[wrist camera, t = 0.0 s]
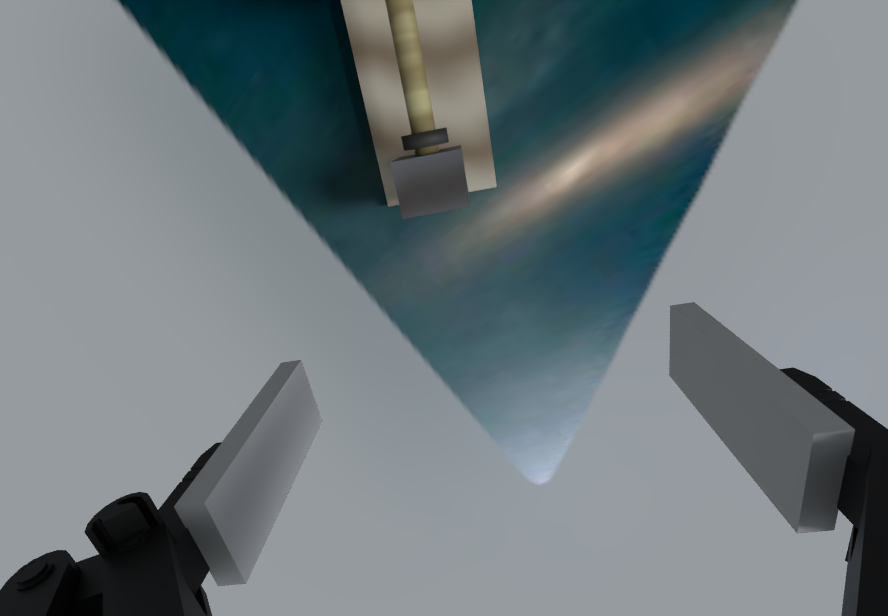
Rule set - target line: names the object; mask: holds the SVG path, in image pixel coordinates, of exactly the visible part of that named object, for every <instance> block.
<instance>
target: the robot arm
mask: <svg viewBox="0 0 888 616" xmlns="http://www.w3.org/2000/svg"><path fill="white" fill-rule="evenodd" d="M669 375H670V377H671V378H672V379H673V380H674V381H675V383H676V384H677V385H678V387H679V388H680V389H681V390H682V391H683V393H684V394H685V395H686V396H687V398H688V399H689V400H690V401H691V402H692V404H693V405H694V406H695V407H696V409H697V410H698V411H699V413H700V414H701V415H702V416H703V418H704V419H705V420H706V421H707V422H708V424H709V425H710V426H711V427H712V428H713V430H714V431H715V432H716V434H717V435H718V436H719V437H720V439H721V440H722V441H723V442H724V444H725V445H726V446H727V447H728V448H729V450H730V451H731V452H732V453H733V455H734V456H735V457H736V458H737V460H738V461H739V462H740V463H741V465H742V466H743V467H744V468H745V469H746V471H747V472H748V473H749V474H750V475H751V477H752V478H753V479H754V481H755V482H756V483H757V484H758V486H759V487H760V488H761V489H762V490H763V492H764V493H765V494H766V496H767V497H768V498H769V499H770V500H771V502H772V503H773V504H774V505H775V506H776V508H777V509H778V510H779V512H780V513H781V514H782V515H783V516H784V518H785V519H786V520H787V522H788V523H789V524H790V525H791V527H792V528H793V529H794V530H795V531H796V532H797V533H807V532H818V531H829V530H834V528H835V523H836V519H837V514H838V509H839V510H840V511H841V512H842V513H843V514H844V515H845V516H846V518H847V519H849V521H850V522H851V523H852V524H853V529H852V533H851V538H850V542H849V547H848V551H847V555H846V559H845V561H847V562H848V565H847V573H846V582H845V590H844V599H843V608H842V616H888V429H886V428H885V427H884V426H882V425H881V424H880V423H878V422H877V421H875V420H874V419H873V418H871V417H870V416H869V415H867V414H866V413H865V412H863V411H862V410H861V409H859V408H858V407H856V406H855V405H854V404H852V403H851V402H849V401H846V400H845V398H844V397H843V396H841V395H840V394H839V393H837V392H836V391H832V388H830V387H829V386H828V385H826V384H825V383H823V382H822V381H821V380H819V379H818V378H816V377H815V376H812V375H810V374H808V373H805V372H803V371H800V370H798V369H796V368H787V369H778V368H777V367H775V366H774V365H773V364H772V363H770V362H769V361H768V360H766V359H765V358H764V357H763V356H761V355H760V354H759V353H758V352H756V351H755V350H754V349H753V348H751V347H750V346H749V345H747V344H746V343H745V342H744V341H742V340H741V339H740V338H739V337H737V336H736V335H735V334H734V333H732V332H731V331H730V330H729V329H727V328H726V327H725V326H723V325H722V324H721V323H720V322H718V321H717V320H716V319H715V318H713V317H712V316H711V315H710V314H708V313H707V312H706V311H704V310H703V309H702V308H701V307H699V306H698V305H697V304H695V303H694V302H693V303H686V304H679V305H672V306H670V374H669ZM321 422H322V419H321V416H320V413H319V410H318V407H317V404H316V401H315V399H314V396H313V393H312V390H311V387H310V384H309V381H308V378H307V376H306V373H305V370H304V367H303V364H302V361H301V360H298V361H291V362H284V363H281V364H280V365H279V367H278V368H277V369H276V371H275V372H274V374H273V375H272V376H271V378H270V379H269V380H268V382H267V383H266V384H265V386H264V387H263V388H262V389H261V391H260V392H259V394H258V395H257V396H256V397H255V399H254V400H253V402H252V403H251V404H250V405H249V407H248V408H247V410H246V411H245V412H244V414H243V415H242V416H241V418H240V419H239V420H238V422H237V423H236V424H235V426H234V427H233V428H232V430H231V431H230V432H229V434H228V435H227V436H226V438H225V439H224V440H223V442H220V443H216V444H214V445H213V446H212V447H211V448H209V449H208V450H207V451H206V452H205V453H203V454H202V455H201V456H200V457H199V459H198V460H197V461H196V462H195V464H194V465H193V466H192V468H191V471H189V472H188V473H187V474H186V475H185V477H184V478H183V479H182V482H180V483H179V484H178V485H177V487H176V488H175V489H174V491H173V492H172V493H171V494H170V496H169V497H168V499H167V500H166V501H165V502H164V504H163V505H162V506H161V507H160V509H159V510H157V508H156V506H155V505H154V503H153V501H152V499H151V498H150V496H149V495H148V494H147V493H142V492H138V493H132V494H129V495H126V496H124V497H121V498H119V499H117V500H115V501H114V502H112V503H110V504H109V505H107V506H105V507H104V508H103V509H102V510H101V511H99V512H98V513H97V514H96V515H95V516H94V517H93V518H92V519H91V521H90V522H89V523H88V524H87V527H86V530H85V533H86V535H87V536H88V538H89V539H90V541H91V542H92V544H93V545H94V546H95V548H96V550H97V551H98V552H99V555H96V556H93V557H91V558H87V559H85V560H82V561H79V562H75V561H74V560H73V558H72V557H71V555H70V554H69V553H68V552H67V551H66V550H57V551H53V552H50V553H47V554H45V555H42V556H40V557H39V558H36V559H34V560H32V561H31V562H29V563H28V564H27V565H24V566H23V567H22V568H20V569H19V570H18V572H16V573H15V574H14V575H13V576H12V577H11V578H10V579H9V580H8V581H7V582H6V583H5V585H4V586H3V587H2V589H1V590H0V616H212V613H211V610H210V606H209V602H208V599H207V595H206V593H205V591H204V589H203V588H202V586H201V584H202V582H203V581H204V579H205V577H206V575H207V573H208V572H209V571H210V573H211V574H212V576H213V578H214V580H215V581H216V583H217V585H218V586H225V585H236V584H246V583H247V580H248V578H249V576H250V574H251V572H252V570H253V568H254V566H255V563H256V561H257V559H258V557H259V555H260V553H261V551H262V548H263V546H264V544H265V542H266V540H267V538H268V536H269V534H270V531H271V529H272V527H273V525H274V523H275V521H276V519H277V516H278V514H279V512H280V510H281V508H282V506H283V503H284V501H285V499H286V497H287V495H288V493H289V491H290V489H291V487H292V484H293V482H294V480H295V478H296V476H297V474H298V471H299V469H300V467H301V465H302V463H303V461H304V459H305V457H306V454H307V452H308V450H309V448H310V446H311V444H312V442H313V440H314V437H315V435H316V433H317V431H318V429H319V427H320V425H321Z"/></svg>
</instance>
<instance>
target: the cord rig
mask: <svg viewBox="0 0 888 616" xmlns="http://www.w3.org/2000/svg"><path fill="white" fill-rule="evenodd" d="M341 4H342V9H343V13H344V17H345V22H346V26H347V30H348V35H349V39H350V43H351V48H352V52H353V56H354V61H355V65H356V69H357V74H358V78H359V82H360V87H361V91H362V95H363V100H364V104H365V108H366V113H367V117H368V121H369V126H370V130H371V134H372V139H373V143H374V147H375V152H376V156H377V160H378V165H379V169H380V173H381V178H382V182H383V186H384V191H385V195H386V199H387V204H388V207H389V206H395V205H400V210H401V214H402V219H405V218H410V217H416V216H421V215H427V214H433V213H438V212H444V211H449V210H455V209H461V208H466V207H470V201H469V192H472V191H477V190H483V189H488V188H493V187H497V186H496V178H495V171H494V164H493V156H492V149H491V141H490V134H489V127H488V119H487V112H486V104H485V97H484V90H483V82H482V75H481V68H480V60H479V53H478V45H477V38H476V31H475V23H474V16H473V9H472V1H471V0H341Z"/></svg>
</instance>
